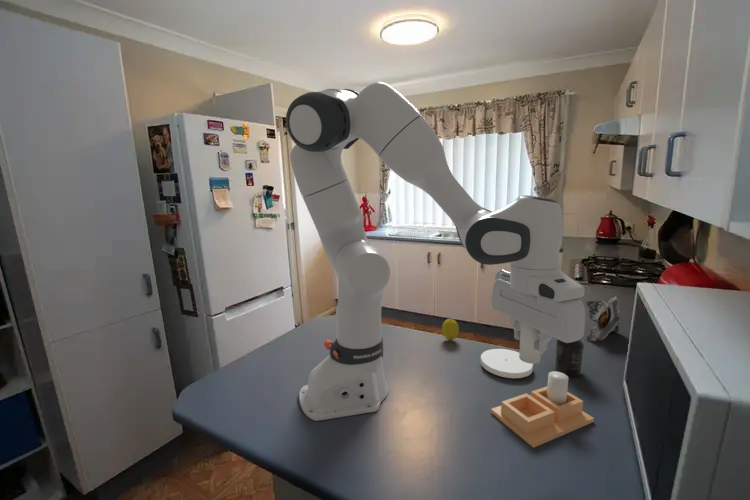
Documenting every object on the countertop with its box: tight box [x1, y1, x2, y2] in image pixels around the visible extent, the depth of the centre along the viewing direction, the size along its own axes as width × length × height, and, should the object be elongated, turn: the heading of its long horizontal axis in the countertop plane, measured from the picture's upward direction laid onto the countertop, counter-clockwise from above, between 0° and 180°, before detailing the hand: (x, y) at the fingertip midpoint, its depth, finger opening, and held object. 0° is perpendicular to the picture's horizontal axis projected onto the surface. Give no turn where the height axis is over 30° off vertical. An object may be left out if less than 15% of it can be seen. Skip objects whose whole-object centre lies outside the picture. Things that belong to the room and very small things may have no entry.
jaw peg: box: [518, 322, 542, 365], centre depth 70 cm, size 4×4×8 cm
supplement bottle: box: [553, 339, 585, 378], centre depth 96 cm, size 7×7×12 cm
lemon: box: [441, 317, 460, 342], centre depth 116 cm, size 6×6×8 cm
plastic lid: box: [480, 348, 534, 379], centre depth 99 cm, size 14×14×2 cm
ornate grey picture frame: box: [585, 295, 621, 341], centre depth 118 cm, size 15×4×13 cm, turn 120°
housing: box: [490, 370, 595, 449], centre depth 77 cm, size 18×12×9 cm, turn 114°
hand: (529, 344), depth 71 cm, fingers closed on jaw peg, 4 cm apart
